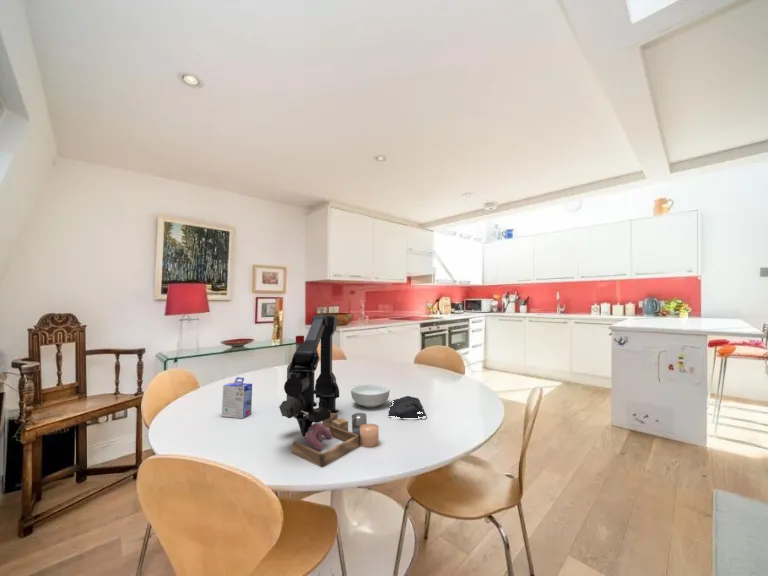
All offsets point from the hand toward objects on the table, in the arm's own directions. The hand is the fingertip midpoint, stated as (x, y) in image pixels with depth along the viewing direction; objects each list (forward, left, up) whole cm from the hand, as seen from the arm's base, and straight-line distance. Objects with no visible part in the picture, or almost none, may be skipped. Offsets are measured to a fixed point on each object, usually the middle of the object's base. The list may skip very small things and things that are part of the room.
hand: (304, 436), depth 100 cm
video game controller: (-1, +6, -1) cm, 6 cm away
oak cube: (-11, +5, -1) cm, 12 cm away
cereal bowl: (-40, -5, -1) cm, 40 cm away
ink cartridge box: (+2, -39, -1) cm, 39 cm away
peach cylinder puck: (-11, +18, -1) cm, 21 cm away
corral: (0, +11, -1) cm, 11 cm away
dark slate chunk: (-44, +12, -2) cm, 45 cm away
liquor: (-21, -30, -1) cm, 37 cm away
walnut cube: (-13, -2, -1) cm, 13 cm away
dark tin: (-15, +11, -1) cm, 18 cm away
